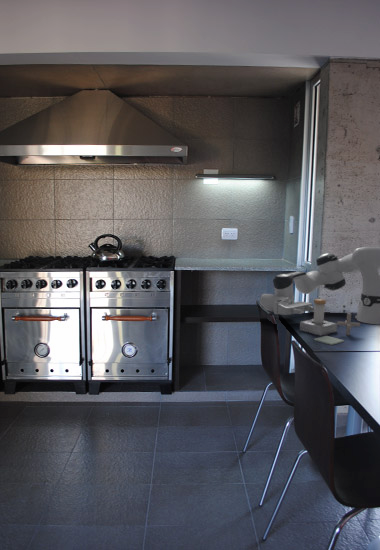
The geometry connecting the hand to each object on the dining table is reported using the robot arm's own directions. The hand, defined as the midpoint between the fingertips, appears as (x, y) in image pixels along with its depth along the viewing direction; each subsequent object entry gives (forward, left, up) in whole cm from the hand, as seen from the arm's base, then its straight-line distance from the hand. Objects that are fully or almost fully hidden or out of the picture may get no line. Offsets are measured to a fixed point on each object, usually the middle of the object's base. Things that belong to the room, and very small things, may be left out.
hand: (308, 311), depth 215 cm
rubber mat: (+10, +19, -9) cm, 23 cm away
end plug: (0, +6, -9) cm, 10 cm away
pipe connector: (-6, +18, -9) cm, 21 cm away
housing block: (0, +6, -9) cm, 10 cm away
